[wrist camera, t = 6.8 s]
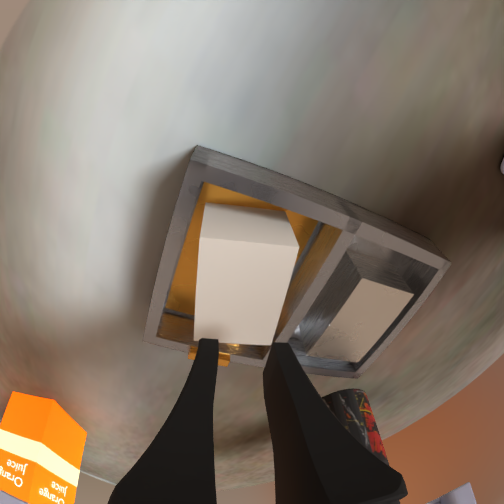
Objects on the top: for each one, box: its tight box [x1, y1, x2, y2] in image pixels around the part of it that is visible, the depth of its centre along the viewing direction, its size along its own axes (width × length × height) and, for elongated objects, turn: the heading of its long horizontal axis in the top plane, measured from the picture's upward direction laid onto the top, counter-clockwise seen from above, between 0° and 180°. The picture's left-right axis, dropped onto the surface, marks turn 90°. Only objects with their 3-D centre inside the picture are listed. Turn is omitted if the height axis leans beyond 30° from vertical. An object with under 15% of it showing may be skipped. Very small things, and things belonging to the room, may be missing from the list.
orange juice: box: [0, 391, 87, 504], centre depth 19 cm, size 8×9×20 cm
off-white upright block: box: [194, 202, 299, 345], centre depth 15 cm, size 4×6×4 cm, turn 171°
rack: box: [143, 145, 452, 378], centre depth 17 cm, size 15×11×3 cm
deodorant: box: [322, 389, 400, 504], centre depth 21 cm, size 6×6×15 cm
